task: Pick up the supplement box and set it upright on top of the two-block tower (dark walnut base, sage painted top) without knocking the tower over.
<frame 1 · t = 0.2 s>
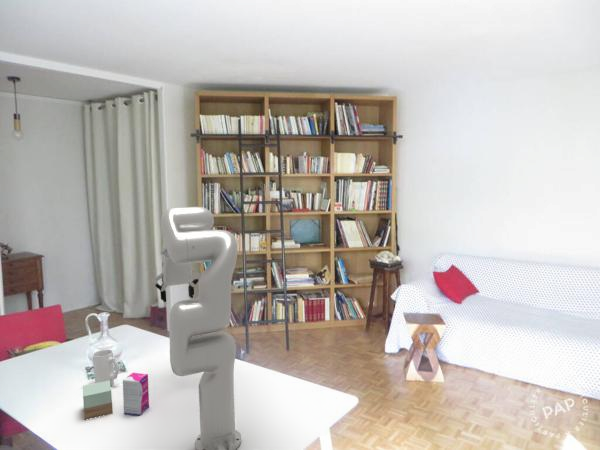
hand: (177, 299, 158), 31 cm above the table, tool pointing down, fingers open, 9 cm apart
mug: (108, 385, 158), on the table
supplement box: (137, 411, 140), on the table
walnut base block: (98, 411, 140), on the table, touching sage top block
sage top block: (97, 399, 140), point 4 cm above the table, touching walnut base block
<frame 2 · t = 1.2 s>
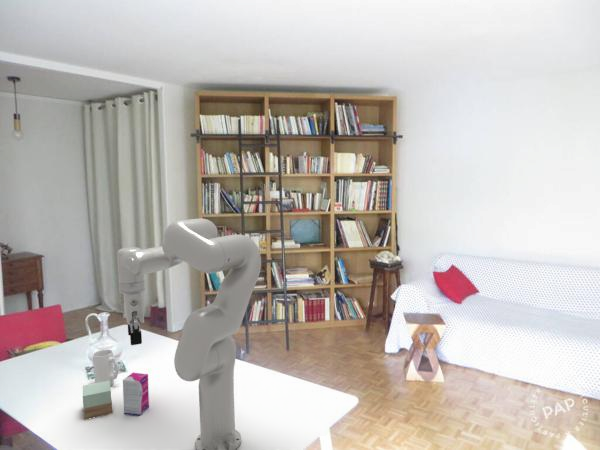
hand: (134, 339, 138), 23 cm above the table, tool pointing down, fingers open, 9 cm apart
walnut base block: (98, 411, 140), on the table
sage top block: (97, 399, 140), point 4 cm above the table
everything else where it was.
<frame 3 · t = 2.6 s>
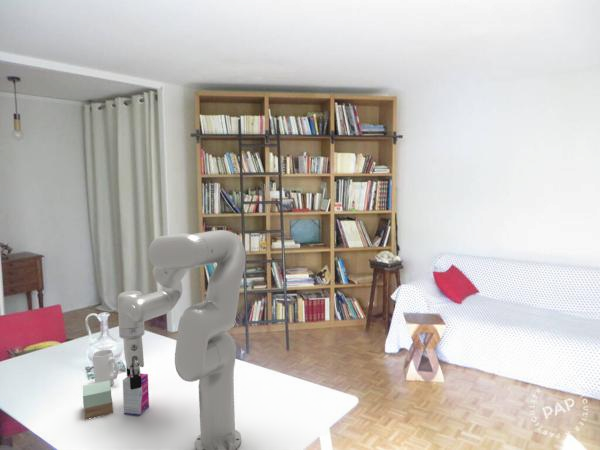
hand: (133, 381, 139), 10 cm above the table, tool pointing down, fingers open, 9 cm apart
walnut base block: (98, 411, 140), on the table, touching sage top block
sage top block: (97, 399, 140), point 4 cm above the table, touching walnut base block
everything else where it was.
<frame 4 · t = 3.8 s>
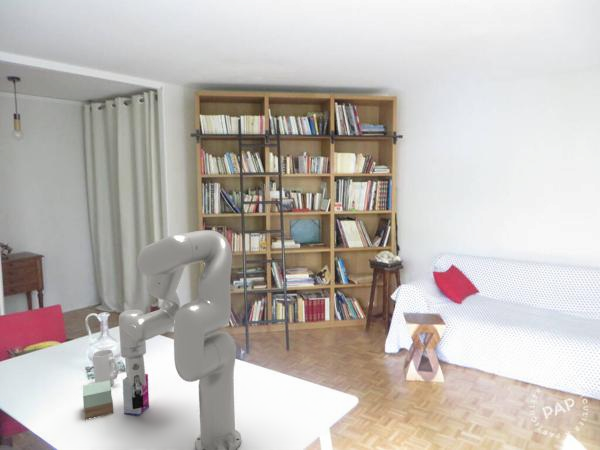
hand: (136, 401, 140), 3 cm above the table, tool pointing down, fingers closed on supplement box, 7 cm apart
supplement box: (136, 411, 140), on the table, touching gripper
walnut base block: (99, 411, 140), on the table
sage top block: (97, 399, 140), point 4 cm above the table
everything else where it was.
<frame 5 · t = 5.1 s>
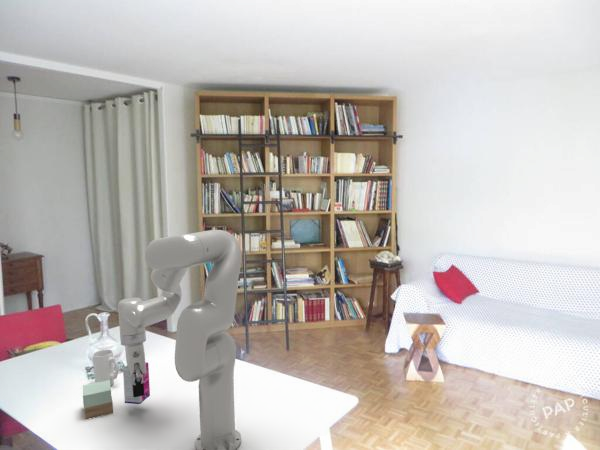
hand: (137, 390, 139), 7 cm above the table, tool pointing down, fingers closed on supplement box, 7 cm apart
supplement box: (137, 400, 139), point 4 cm above the table, touching gripper
walnut base block: (98, 411, 140), on the table, touching sage top block
sage top block: (97, 399, 140), point 4 cm above the table, touching walnut base block
everything else where it was.
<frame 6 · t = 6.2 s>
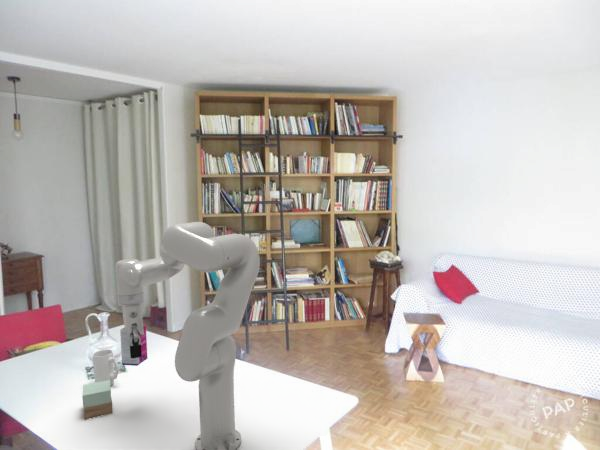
hand: (134, 352, 138), 20 cm above the table, tool pointing down, fingers closed on supplement box, 7 cm apart
supplement box: (135, 362, 138), point 16 cm above the table, touching gripper
everything else where it was.
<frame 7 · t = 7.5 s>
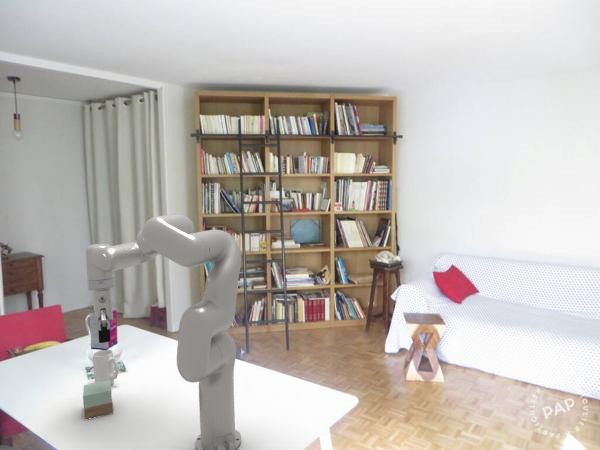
hand: (104, 337, 138), 24 cm above the table, tool pointing down, fingers closed on supplement box, 7 cm apart
supplement box: (104, 347, 138), point 21 cm above the table, touching gripper
everything else where it was.
when the fingers open (12 cm above the table, at t = 10.6 s): supplement box drops 1 cm, resting on sage top block.
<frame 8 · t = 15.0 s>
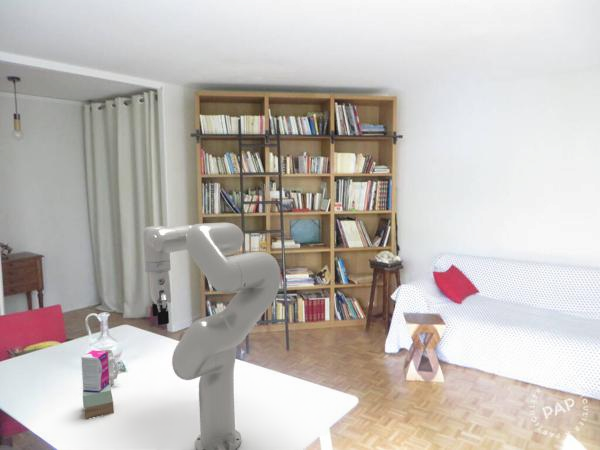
hand: (160, 319, 136), 30 cm above the table, tool pointing down, fingers open, 9 cm apart
supplement box: (96, 388, 139), point 8 cm above the table, touching sage top block
sage top block: (97, 399, 140), point 4 cm above the table, touching supplement box, walnut base block
everything else where it was.
at the end: supplement box 0.3 cm off-centre on the sage top block, point 3.8 cm above the sage top block's base; supplement box tilted 1°; sage top block moved 0.3 cm from its start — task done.
